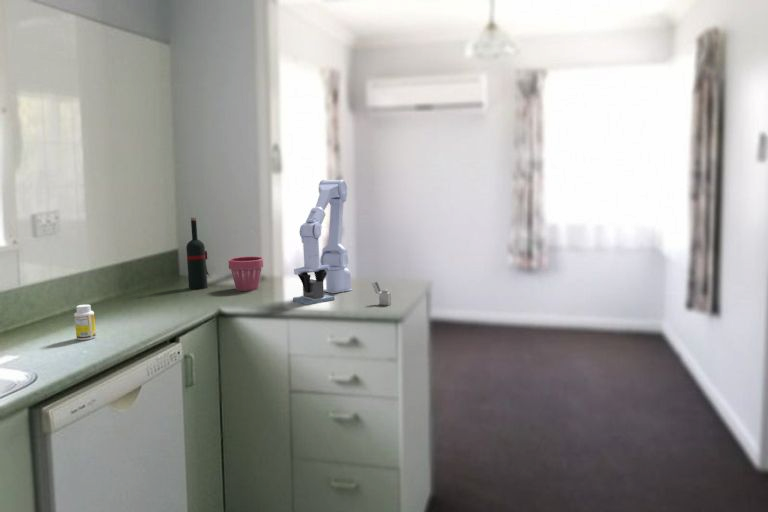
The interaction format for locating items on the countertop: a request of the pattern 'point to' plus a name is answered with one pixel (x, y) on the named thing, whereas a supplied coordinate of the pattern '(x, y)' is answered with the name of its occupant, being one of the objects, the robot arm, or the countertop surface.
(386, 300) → the lighter
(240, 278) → the plant pot
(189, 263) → the wine bottle
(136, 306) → the countertop surface
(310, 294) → the block
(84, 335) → the supplement bottle
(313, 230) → the robot arm
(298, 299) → the header board
